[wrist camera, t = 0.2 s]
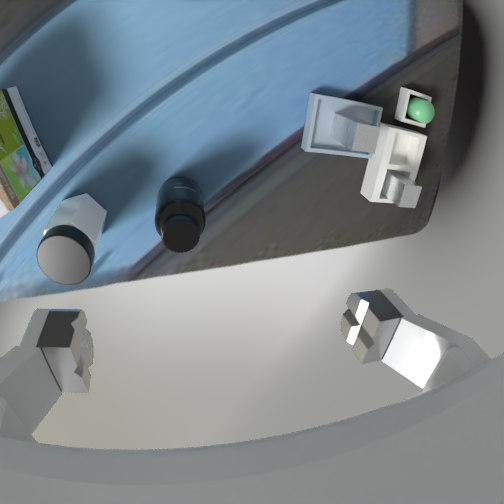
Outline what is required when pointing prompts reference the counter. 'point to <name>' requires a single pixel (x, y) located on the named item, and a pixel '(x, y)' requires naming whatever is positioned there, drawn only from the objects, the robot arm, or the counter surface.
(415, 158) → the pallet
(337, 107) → the tote
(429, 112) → the button
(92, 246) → the jar
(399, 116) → the button housing
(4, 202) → the tea box
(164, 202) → the supplement bottle
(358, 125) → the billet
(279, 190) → the counter surface
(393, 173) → the block
